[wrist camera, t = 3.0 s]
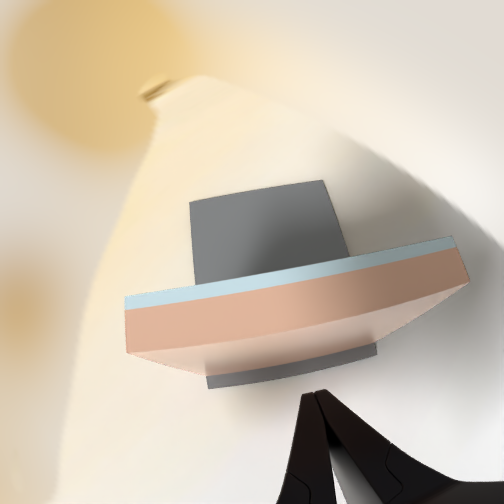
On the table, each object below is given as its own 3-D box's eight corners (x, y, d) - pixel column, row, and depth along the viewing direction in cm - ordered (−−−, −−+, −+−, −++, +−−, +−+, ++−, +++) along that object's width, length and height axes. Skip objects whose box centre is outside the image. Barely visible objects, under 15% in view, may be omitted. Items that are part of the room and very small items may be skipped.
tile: (374, 342, 16) (470, 281, 7) (206, 376, 16) (126, 352, 7) (367, 317, 17) (451, 235, 8) (203, 349, 17) (124, 296, 8)
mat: (374, 355, 16) (377, 354, 16) (209, 389, 16) (208, 388, 16) (321, 183, 22) (322, 179, 22) (190, 205, 22) (189, 202, 21)
